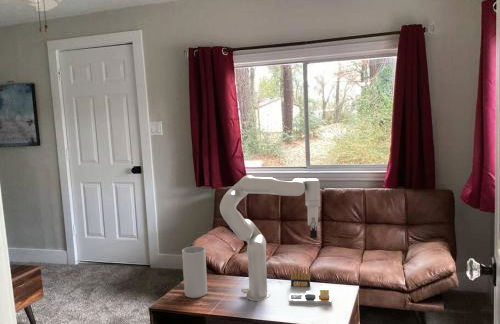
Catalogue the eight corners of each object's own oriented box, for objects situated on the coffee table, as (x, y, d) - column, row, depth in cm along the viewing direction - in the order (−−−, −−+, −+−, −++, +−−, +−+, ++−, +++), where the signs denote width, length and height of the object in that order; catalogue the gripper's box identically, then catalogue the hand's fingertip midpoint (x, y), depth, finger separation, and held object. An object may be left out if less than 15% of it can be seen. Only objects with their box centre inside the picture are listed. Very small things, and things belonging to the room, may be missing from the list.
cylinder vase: (180, 293, 237) (177, 249, 235) (200, 287, 245) (197, 244, 242) (191, 300, 227) (189, 255, 225) (211, 293, 235) (209, 249, 232)
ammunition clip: (310, 287, 238) (309, 266, 237) (310, 288, 237) (309, 267, 235) (291, 286, 240) (290, 266, 239) (290, 288, 238) (290, 267, 237)
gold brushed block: (320, 302, 216) (320, 289, 215) (320, 299, 220) (320, 286, 219) (328, 303, 215) (328, 289, 215) (328, 299, 219) (328, 286, 219)
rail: (289, 305, 217) (289, 299, 216) (290, 299, 224) (289, 293, 224) (331, 306, 213) (331, 301, 213) (330, 300, 221) (330, 294, 221)
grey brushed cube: (306, 302, 217) (305, 294, 217) (306, 299, 221) (305, 290, 221) (314, 302, 216) (314, 294, 216) (314, 299, 221) (314, 290, 220)
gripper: (305, 199, 230) (306, 230, 232) (305, 206, 213) (306, 239, 215) (320, 199, 229) (320, 230, 231) (320, 206, 212) (321, 239, 214)
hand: (313, 235), depth 223 cm, fingers open, 9 cm apart
